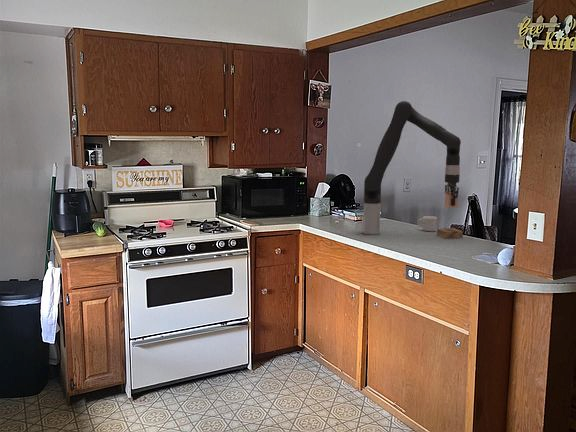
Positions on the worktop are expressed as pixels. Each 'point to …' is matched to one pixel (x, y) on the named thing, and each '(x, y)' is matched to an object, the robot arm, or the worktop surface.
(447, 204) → the terracotta block
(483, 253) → the worktop surface
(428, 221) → the cup
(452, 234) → the walnut block
